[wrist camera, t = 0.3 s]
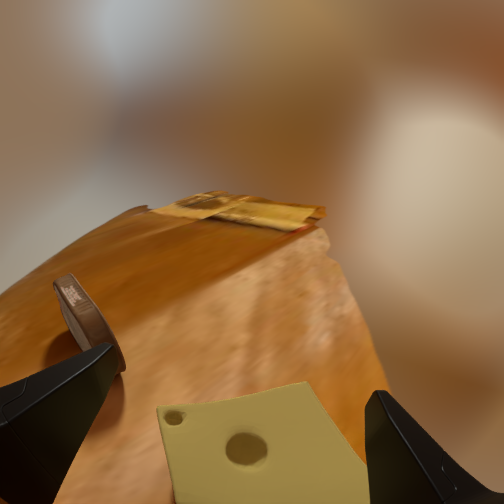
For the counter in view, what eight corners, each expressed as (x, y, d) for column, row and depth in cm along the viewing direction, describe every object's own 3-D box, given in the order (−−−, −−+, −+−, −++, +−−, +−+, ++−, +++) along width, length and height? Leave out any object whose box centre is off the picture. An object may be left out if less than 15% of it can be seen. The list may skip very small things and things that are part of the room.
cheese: (200, 573, 9) (187, 571, 5) (168, 462, 18) (149, 394, 15) (336, 534, 13) (399, 496, 9) (284, 441, 22) (310, 369, 18)
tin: (133, 385, 26) (119, 321, 23) (109, 397, 24) (88, 334, 20) (80, 316, 34) (68, 261, 31) (61, 323, 32) (46, 268, 29)
